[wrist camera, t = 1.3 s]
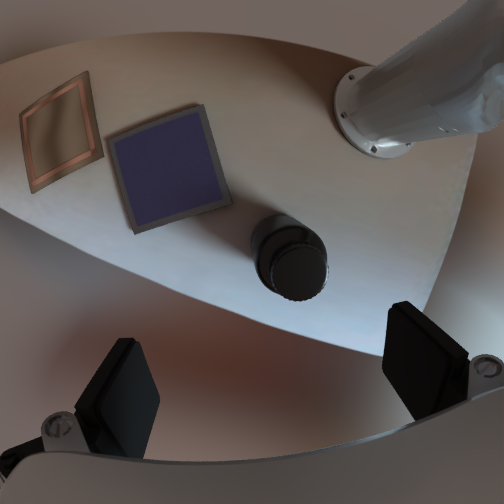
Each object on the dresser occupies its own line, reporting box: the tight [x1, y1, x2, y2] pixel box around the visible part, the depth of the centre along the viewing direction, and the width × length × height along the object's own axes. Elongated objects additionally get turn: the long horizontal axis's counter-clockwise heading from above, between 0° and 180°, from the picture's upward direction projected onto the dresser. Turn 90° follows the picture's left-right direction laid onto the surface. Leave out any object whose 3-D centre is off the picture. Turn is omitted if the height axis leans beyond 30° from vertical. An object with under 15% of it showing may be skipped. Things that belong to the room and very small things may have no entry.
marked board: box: [19, 71, 104, 194], centre depth 29 cm, size 13×13×1 cm
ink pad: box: [108, 105, 232, 235], centre depth 31 cm, size 12×12×2 cm
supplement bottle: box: [251, 215, 329, 302], centre depth 28 cm, size 7×7×12 cm
